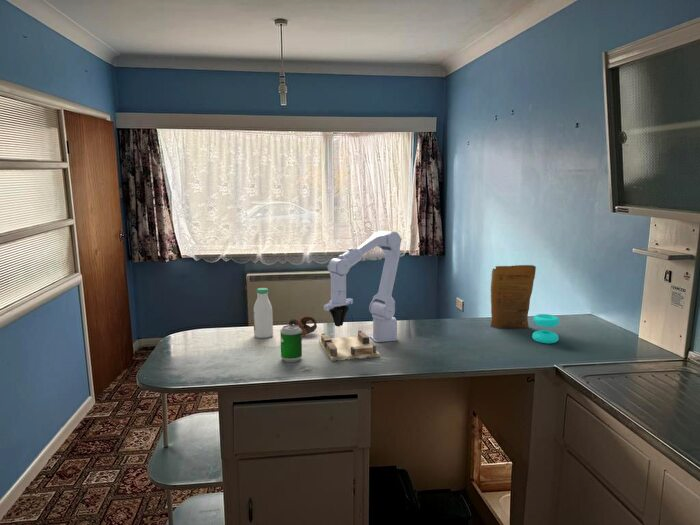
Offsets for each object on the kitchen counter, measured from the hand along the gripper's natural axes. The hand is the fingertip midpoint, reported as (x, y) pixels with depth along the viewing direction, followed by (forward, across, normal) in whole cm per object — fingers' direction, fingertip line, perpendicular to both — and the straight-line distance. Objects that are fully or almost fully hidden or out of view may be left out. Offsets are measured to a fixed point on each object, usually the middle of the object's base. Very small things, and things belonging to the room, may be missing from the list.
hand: (338, 325), depth 187 cm
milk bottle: (+10, +7, -35) cm, 37 cm away
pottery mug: (+10, -6, -26) cm, 28 cm away
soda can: (+10, +19, -6) cm, 22 cm away
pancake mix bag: (+10, -71, +38) cm, 81 cm away
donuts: (+10, -62, +57) cm, 84 cm away
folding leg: (+8, +1, -6) cm, 10 cm away
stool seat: (+9, -3, +2) cm, 10 cm away
